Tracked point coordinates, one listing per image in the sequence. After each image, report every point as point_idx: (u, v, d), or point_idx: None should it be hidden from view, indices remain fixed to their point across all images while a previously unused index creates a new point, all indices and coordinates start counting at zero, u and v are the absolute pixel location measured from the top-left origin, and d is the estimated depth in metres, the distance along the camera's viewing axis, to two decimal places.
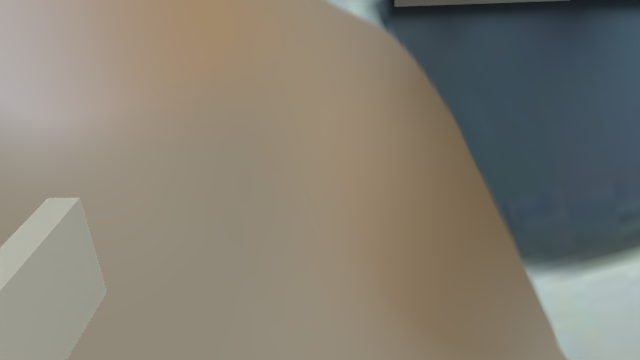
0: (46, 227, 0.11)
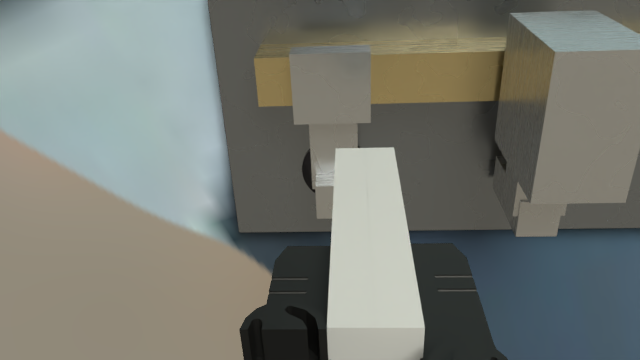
0: (359, 170, 0.13)
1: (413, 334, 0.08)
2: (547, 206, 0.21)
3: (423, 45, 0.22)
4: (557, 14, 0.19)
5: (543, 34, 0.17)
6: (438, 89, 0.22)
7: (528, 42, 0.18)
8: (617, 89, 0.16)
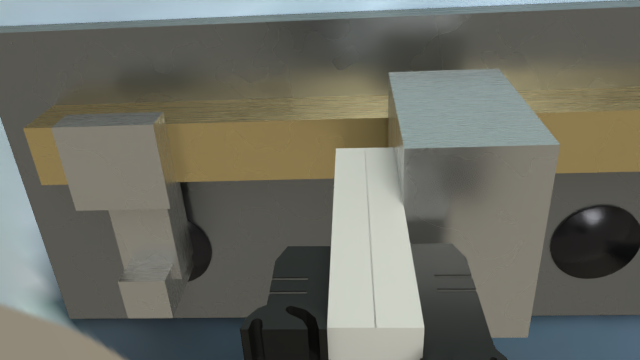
0: (359, 170, 0.13)
1: (412, 334, 0.08)
2: None
3: (242, 108, 0.18)
4: (447, 75, 0.15)
5: (408, 112, 0.13)
6: (258, 165, 0.17)
7: (394, 120, 0.13)
8: (499, 197, 0.11)
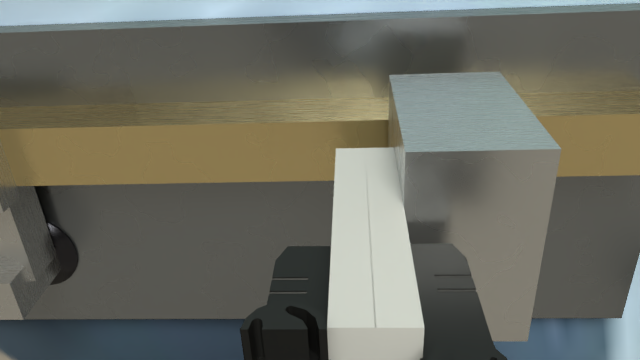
0: (359, 169, 0.13)
1: (412, 334, 0.08)
2: None
3: (81, 113, 0.18)
4: (447, 78, 0.15)
5: (409, 115, 0.13)
6: (93, 169, 0.18)
7: (395, 123, 0.13)
8: (499, 201, 0.11)
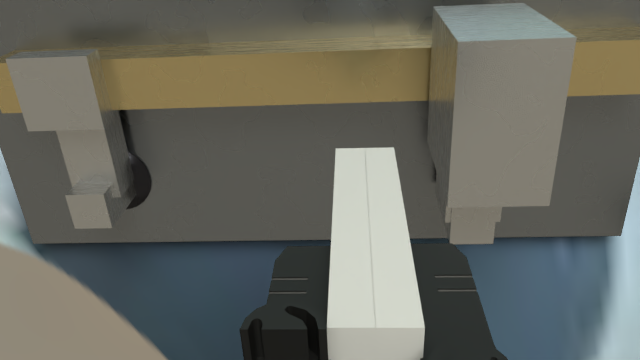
0: (359, 170, 0.13)
1: (413, 334, 0.08)
2: (480, 211, 0.20)
3: (166, 49, 0.22)
4: (481, 7, 0.18)
5: (455, 25, 0.16)
6: (177, 94, 0.21)
7: (443, 35, 0.17)
8: (529, 82, 0.15)
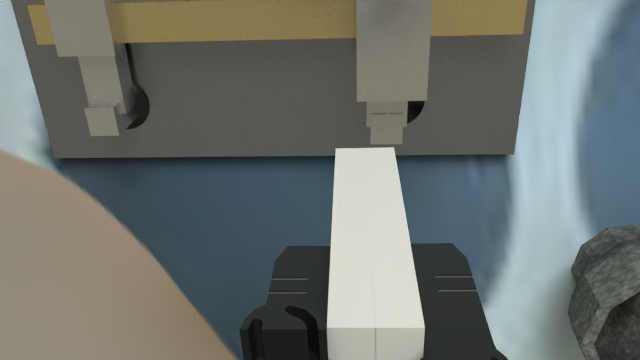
0: (359, 170, 0.13)
1: (413, 334, 0.08)
2: (391, 118, 0.27)
3: None
4: None
5: None
6: (170, 31, 0.28)
7: None
8: (405, 9, 0.22)
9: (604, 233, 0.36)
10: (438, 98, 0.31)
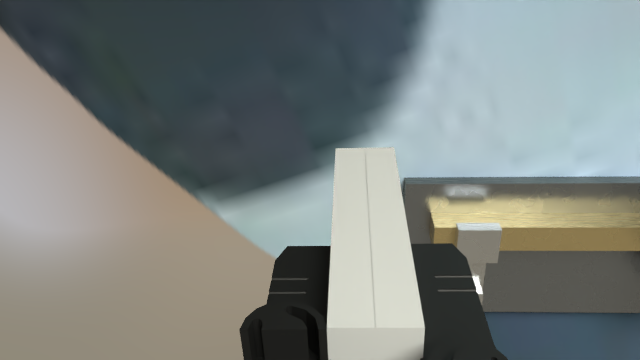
0: (359, 170, 0.13)
1: (413, 334, 0.08)
2: None
3: (524, 218, 0.41)
4: None
5: None
6: (533, 244, 0.40)
7: None
8: None
9: None
10: None
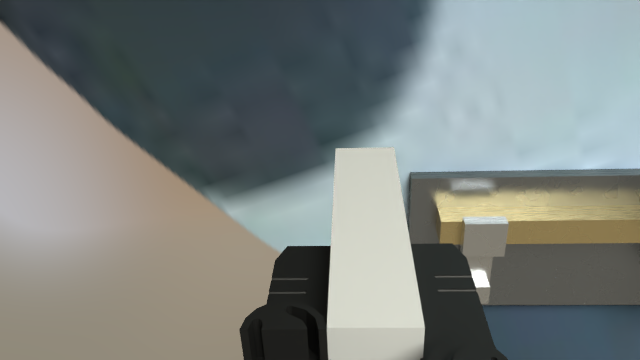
0: (359, 170, 0.13)
1: (413, 334, 0.08)
2: None
3: (530, 212, 0.41)
4: None
5: None
6: (540, 237, 0.40)
7: None
8: None
9: None
10: None
